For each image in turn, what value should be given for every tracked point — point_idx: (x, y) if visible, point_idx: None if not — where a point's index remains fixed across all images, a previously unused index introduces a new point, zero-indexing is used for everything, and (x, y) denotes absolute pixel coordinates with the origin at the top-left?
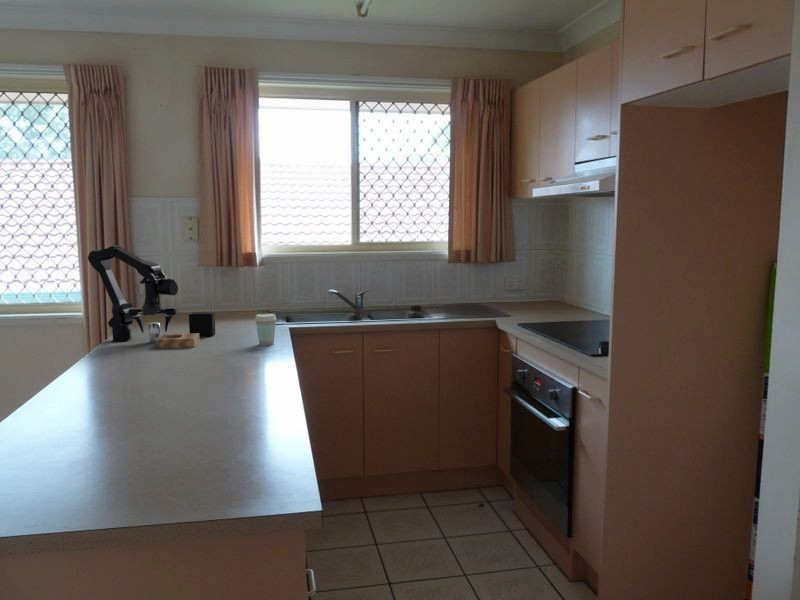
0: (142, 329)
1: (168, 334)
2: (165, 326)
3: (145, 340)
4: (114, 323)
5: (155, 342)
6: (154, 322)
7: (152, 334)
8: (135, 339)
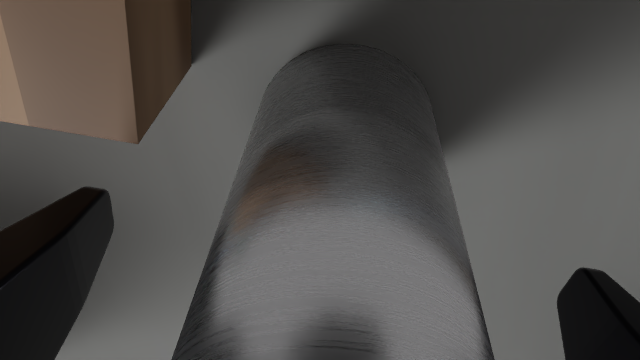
0: (627, 315)
1: (18, 67)
2: (3, 267)
3: None
4: None
5: (337, 51)
6: None
7: (387, 137)
8: None
